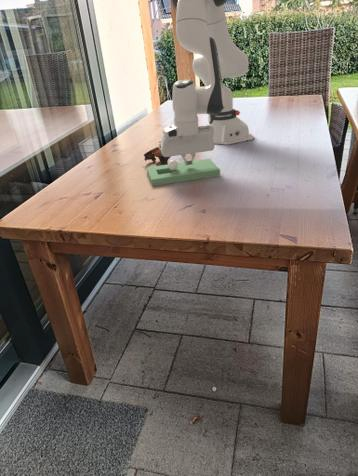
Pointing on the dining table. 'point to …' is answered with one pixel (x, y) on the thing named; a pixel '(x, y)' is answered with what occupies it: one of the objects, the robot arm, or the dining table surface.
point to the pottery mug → (156, 153)
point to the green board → (182, 172)
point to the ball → (173, 165)
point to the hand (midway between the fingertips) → (188, 164)
